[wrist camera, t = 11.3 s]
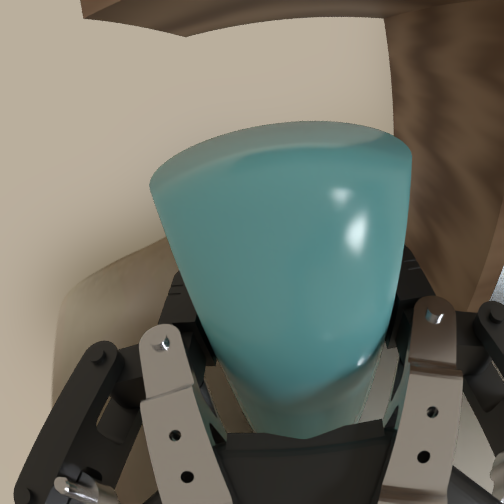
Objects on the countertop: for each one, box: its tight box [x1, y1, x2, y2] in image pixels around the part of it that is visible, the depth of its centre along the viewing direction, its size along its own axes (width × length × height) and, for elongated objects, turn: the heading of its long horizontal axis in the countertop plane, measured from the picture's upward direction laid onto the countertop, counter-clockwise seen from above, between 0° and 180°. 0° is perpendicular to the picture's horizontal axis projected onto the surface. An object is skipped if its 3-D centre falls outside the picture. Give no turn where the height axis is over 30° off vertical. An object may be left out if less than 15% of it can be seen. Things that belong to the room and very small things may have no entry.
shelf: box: [80, 0, 504, 313], centre depth 14 cm, size 13×16×18 cm
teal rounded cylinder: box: [149, 121, 412, 439], centre depth 9 cm, size 6×6×11 cm
